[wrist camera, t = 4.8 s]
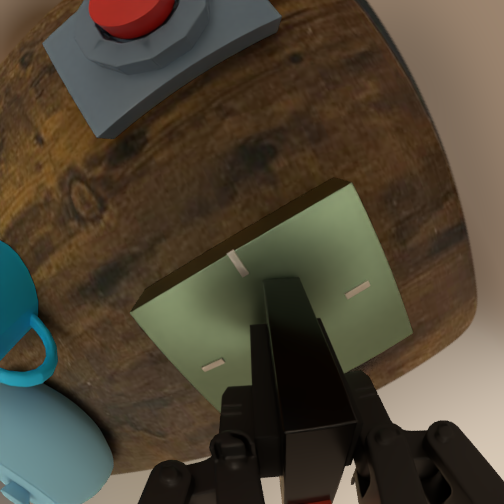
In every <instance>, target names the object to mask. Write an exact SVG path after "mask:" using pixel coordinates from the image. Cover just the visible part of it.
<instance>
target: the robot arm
mask: <svg viewBox="0 0 504 504" xmlns="http://www.w3.org/2000/svg"><path fill="white" fill-rule="evenodd" d="M317 320H318V323H319V325H320V327H321V330H322V332H323V335H324V337H325V340H326V342H327V345H328V347H329V349H330V352H331V354H332V357H333V359H334V362H335V364H336V367H337V369H338V372H339V374H340V377H341V379H342V382H343V385H344V387H345V390H346V392H347V395H348V397H349V400H350V403H351V405H352V408H353V410H354V413H355V416H356V418H357V426H356V429H355V433H354V437H353V441H352V444H351V448H350V451H349V455H348V458H347V461H346V464H345V466H349V465H351V463H352V460H353V459H354V462H355V465H356V469H355V472H354V474H353V477H352V480H351V485H353V484H354V483H356V489H357V496H358V502H359V504H504V481H503V480H502V479H501V477H500V476H499V475H498V474H497V472H496V471H495V470H494V469H493V468H492V466H491V465H490V464H489V463H488V462H487V460H486V459H485V458H484V457H483V456H482V454H481V453H480V452H479V451H478V450H477V448H476V447H475V446H474V445H473V444H472V443H471V441H470V440H469V439H468V438H467V437H466V436H465V435H464V433H463V432H462V431H461V430H460V429H459V427H458V426H456V425H455V424H454V423H452V422H449V421H437V422H434V423H433V424H432V425H431V426H430V427H429V428H428V430H426V431H425V430H424V431H406V430H403V429H401V427H399V426H398V425H396V424H393V423H392V421H391V420H390V418H389V416H388V414H387V412H386V410H385V408H384V406H383V403H382V402H381V399H380V397H379V395H377V391H376V389H375V388H374V385H373V383H372V381H371V379H370V377H369V376H367V375H366V374H365V373H364V372H363V371H361V370H359V371H354V372H348V373H344V372H343V370H342V368H341V365H340V363H339V360H338V358H337V356H336V353H335V351H334V348H333V346H332V344H331V341H330V339H329V337H328V334H327V332H326V330H325V327H324V325H323V323H322V321H321V318H317ZM250 348H251V374H252V385H245V386H228V387H227V388H226V390H225V392H224V393H223V395H222V400H221V416H220V429H219V434H217V435H215V436H214V438H213V439H212V440H211V442H210V446H209V448H210V451H211V454H212V456H211V457H210V458H208V459H207V460H204V461H201V462H198V463H194V464H190V465H185V464H184V463H182V462H180V461H177V460H167V461H164V462H161V463H159V464H158V465H156V466H155V467H154V468H153V470H152V471H151V474H150V476H149V478H148V481H147V483H146V485H145V488H144V490H143V492H142V495H141V497H140V500H139V502H138V504H265V502H264V496H263V491H262V485H261V480H260V478H265V477H278V476H281V458H280V432H279V424H278V416H277V408H276V400H275V392H274V384H273V375H272V367H271V359H270V351H269V343H268V336H267V328H266V323H265V324H254V325H250Z"/></svg>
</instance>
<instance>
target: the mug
mask: <svg viewBox="0 0 504 504" xmlns="http://www.w3.org/2000/svg"><path fill="white" fill-rule="evenodd" d="M31 328H33V329H34V330H35V331H36V332H37V334H38V335H39V336H40V338H41V339H42V341H43V344H44V346H45V348H46V358H45V360H44V362H43V364H42V365H40V366H39V367H38V368H36V369H34V370H30V371H26V372H17V371H8V370H6V369H3V368H0V382H1V383H4V384H6V385H9V386H18V387H31V386H34V385H38V384H42V383H43V382H44V381H46V380H47V379H48V378H49V377H50V376H52V375H53V373H54V370H55V368H56V365H57V362H58V356H57V346H56V344H55V341H54V339H53V337H52V335H51V332H50V331H49V330H48V328H47V327H46V326H45V325H44V323H43V322H42V321H41V319H40V318H39V317H38V298H37V294H36V289H35V285H34V283H33V281H32V278H31V276H30V273H29V271H28V269H27V267H26V266H25V264H24V263H23V261H22V260H21V258H20V257H19V255H18V254H17V253H16V252H15V251H14V250H13V249H12V248H11V247H10V246H9V245H7V244H6V243H4V242H2V241H0V360H1V359H2V358H3V357H4V356H5V355H6V354H7V353H8V352H9V351H10V350H11V349H12V347H13V346H14V345H15V344H16V343H17V342H18V341H19V340H20V339H21V338H22V337H23V336H24V335H25V334H26V333H27V332H28V331H29V330H30V329H31Z"/></svg>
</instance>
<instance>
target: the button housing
mask: <svg viewBox="0 0 504 504" xmlns="http://www.w3.org/2000/svg"><path fill="white" fill-rule="evenodd" d="M89 2H90V0H84V1H83V3H82V4H81V6H80V7H79V9H78V11H77V12H76V13H74V14H73V15H72V16H71V17H70V18H69V19H67V20H66V21H65V22H64V23H63V24H62V25H61V26H60V27H59V28H58V29H56V30H55V31H54V32H53V33H52V34H51V35H50V36H49V37H48V38H47V39H46V40H45V41H44V42H43V43H42V44H43V46H44V48H45V50H46V52H47V54H48V55H49V57H50V59H51V61H52V63H53V65H54V66H55V68H56V70H57V72H58V74H59V75H60V77H61V79H62V81H63V82H64V84H65V86H66V88H67V89H68V91H69V93H70V95H71V96H72V98H73V100H74V101H75V103H76V105H77V106H78V108H79V110H80V111H81V113H82V115H83V116H84V118H85V120H86V121H87V123H88V125H89V126H90V128H91V129H92V131H93V133H94V134H95V136H96V137H97V138H105V139H114V138H116V137H117V136H118V135H119V134H120V133H122V132H123V131H124V130H125V129H126V128H128V127H129V126H130V125H131V124H132V123H134V122H135V121H136V120H137V119H139V118H140V117H141V116H143V115H144V114H145V113H146V112H148V111H149V110H150V109H152V108H153V107H154V106H156V105H157V104H158V103H160V102H161V101H162V100H164V99H165V98H167V97H168V96H169V95H171V94H172V93H174V92H175V91H177V90H178V89H179V88H181V87H182V86H184V85H185V84H187V83H188V82H190V81H191V80H193V79H194V78H196V77H198V76H199V75H201V74H202V73H204V72H205V71H207V70H209V69H210V68H212V67H214V66H215V65H217V64H218V63H220V62H222V61H224V60H225V59H227V58H229V57H230V56H232V55H234V54H236V53H238V52H239V51H241V50H243V49H245V48H247V47H249V46H250V45H252V44H254V43H256V42H258V41H260V40H262V39H264V38H266V37H268V36H270V35H272V34H274V33H276V32H277V31H278V28H279V24H280V21H281V18H282V16H281V15H280V14H279V13H278V11H277V10H276V9H275V8H274V7H273V6H272V4H271V3H270V2H269V1H268V0H175V2H174V6H173V9H172V11H171V13H170V15H169V16H168V18H167V19H166V20H165V21H164V22H163V23H162V24H161V25H160V26H159V27H157V28H156V29H155V30H153V31H151V32H150V33H148V34H146V35H143V36H140V37H137V38H132V39H121V38H117V37H114V36H112V35H110V34H109V33H108V32H107V31H105V30H104V29H103V28H102V27H100V26H99V25H98V24H96V23H95V22H94V21H93V20H92V19H91V17H90V14H89Z"/></svg>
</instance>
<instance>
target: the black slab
mask: <svg viewBox="0 0 504 504" xmlns="http://www.w3.org/2000/svg"><path fill="white" fill-rule="evenodd" d="M262 283H263V297H264V312H265V323H266V328H267V336H268V343H269V351H270V359H271V367H272V375H273V384H274V392H275V400H276V408H277V416H278V424H279V432H280V458H281V476H279V478H280V487H281V497H282V504H332V503H333V500H334V497H335V494H336V492H337V489H338V486H339V483H340V480H341V477H342V474H343V471H344V468H345V464H346V461H347V458H348V455H349V451H350V448H351V444H352V441H353V437H354V433H355V429H356V426H357V418H356V416H355V413H354V410H353V408H352V405H351V403H350V400H349V397H348V395H347V392H346V390H345V387H344V385H343V382H342V379H341V377H340V374H339V372H338V369H337V367H336V364H335V362H334V359H333V357H332V354H331V352H330V349H329V347H328V345H327V342H326V340H325V337H324V335H323V332H322V330H321V327H320V325H319V323H318V320H317V318H316V315H315V313H314V311H313V308H312V306H311V304H310V301H309V299H308V296H307V294H306V292H305V289H304V287H303V285H302V282H301V280H300V278H299V277H295V278H283V279H271V280H263V282H262Z"/></svg>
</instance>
